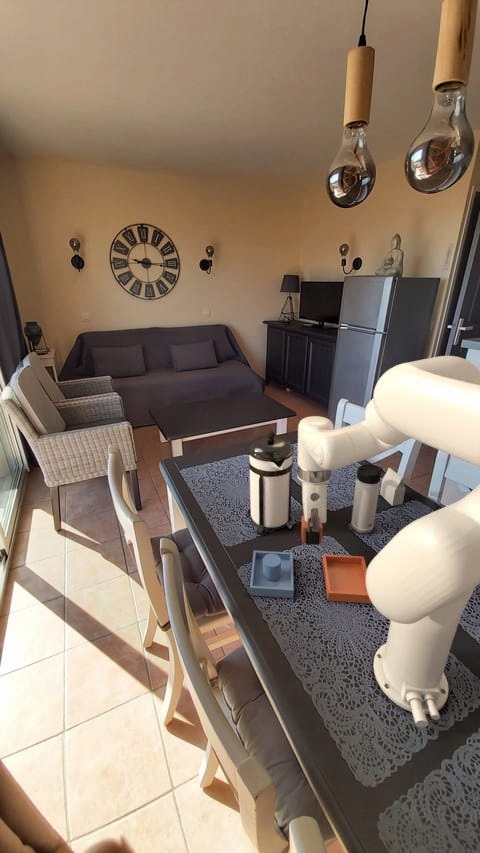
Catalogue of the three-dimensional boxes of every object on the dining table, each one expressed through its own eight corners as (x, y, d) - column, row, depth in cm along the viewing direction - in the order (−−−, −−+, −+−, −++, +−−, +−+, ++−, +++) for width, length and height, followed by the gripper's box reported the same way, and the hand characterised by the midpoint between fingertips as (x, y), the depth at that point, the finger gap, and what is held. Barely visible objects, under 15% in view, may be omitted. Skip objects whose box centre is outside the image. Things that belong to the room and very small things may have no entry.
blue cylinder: (280, 582, 88) (280, 567, 86) (262, 581, 88) (262, 566, 86) (280, 568, 92) (281, 554, 90) (263, 567, 92) (263, 553, 90)
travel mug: (375, 535, 103) (384, 474, 95) (351, 532, 104) (358, 472, 96) (373, 521, 108) (381, 463, 101) (350, 519, 110) (356, 461, 102)
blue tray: (293, 598, 84) (293, 590, 83) (249, 595, 85) (249, 587, 84) (292, 559, 95) (292, 552, 94) (253, 557, 96) (253, 550, 95)
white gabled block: (392, 505, 115) (396, 479, 111) (380, 494, 121) (383, 468, 117) (402, 504, 116) (407, 477, 112) (389, 492, 122) (393, 466, 118)
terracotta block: (321, 543, 86) (322, 528, 84) (302, 543, 86) (302, 527, 85) (320, 531, 90) (320, 516, 88) (301, 530, 91) (301, 515, 89)
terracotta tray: (373, 603, 82) (374, 595, 81) (327, 600, 83) (328, 592, 82) (362, 563, 93) (363, 556, 92) (322, 561, 94) (323, 554, 93)
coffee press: (304, 514, 113) (309, 426, 101) (280, 543, 101) (282, 448, 89) (257, 497, 122) (256, 414, 110) (230, 522, 110) (225, 433, 98)
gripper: (336, 491, 73) (331, 562, 80) (326, 454, 89) (323, 516, 95) (298, 490, 74) (297, 560, 81) (296, 453, 90) (294, 515, 96)
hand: (311, 535), depth 88 cm, fingers closed on terracotta block, 4 cm apart
